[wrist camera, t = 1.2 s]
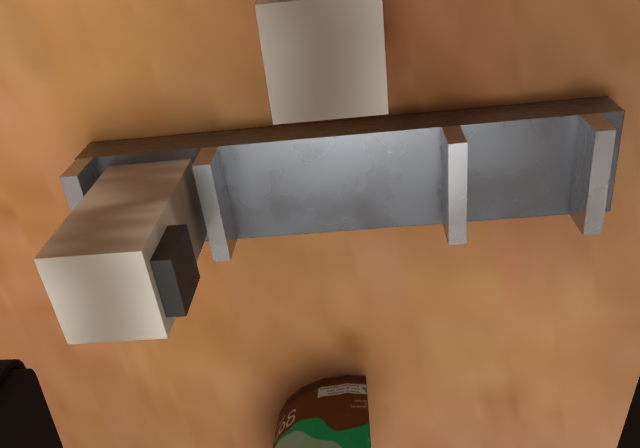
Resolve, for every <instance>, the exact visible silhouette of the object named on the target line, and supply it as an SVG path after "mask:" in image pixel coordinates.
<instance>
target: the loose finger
mask: <svg viewBox="0 0 640 448" xmlns="http://www.w3.org/2000/svg"><path fill="white" fill-rule="evenodd" d="M255 10H256V17H257V23H258V30H259V36H260V43H261V49H262V56H263V62H264V69H265V75H266V82H267V88H268V95H269V101H270V108H271V114H272V121H273V125H276V124H287V123H298V122H309V121H320V120H331V119H342V118H353V117H364V116H375V115H386V114H389V113H388V95H387V76H386V58H385V40H384V21H383V3H382V0H258V1H257V2H256V4H255Z"/></svg>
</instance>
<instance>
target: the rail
mask: <svg viewBox="0 0 640 448" xmlns="http://www.w3.org/2000/svg"><path fill="white" fill-rule="evenodd" d="M624 112H625V111H624V110H623V109H622V108H621V107H620V106H618V105H617V104H616V103H615V102H614V101H613V100H611V99H610V98H609V97H608V96H605V97H594V98H583V99H572V100H561V101H550V102H539V103H528V104H516V105H505V106H494V107H483V108H472V109H461V110H450V111H439V112H427V113H416V114H405V115H394V116H383V117H372V118H361V119H350V120H338V121H327V122H316V123H305V124H294V125H283V126H272V127H261V128H249V129H238V130H227V131H216V132H205V133H194V134H183V135H172V136H160V137H149V138H138V139H127V140H116V141H105V142H94V143H89V144H88V145H87V146H86V148H85V149H84V150H83V151H82V152H81V153H80V154H79V155H78V156H77V157H76V158H75V161H74V162H73V163H72V164H71V166H70V167H69V168H68V169H67V170H66V171H65V172H64V173H63V174H62V175H61V176H60V177H59V178H60V180H61V183H62V186H63V189H64V192H65V195H66V198H67V200H68V203H69V206H70V209H71V212H72V211H73V209H74V208H75V207H76V206H77V204H78V203H79V202H80V201H81V199H82V198H83V197H84V196H85V195H86V193H87V192H88V191H89V190H90V188H91V187H92V186H93V185H94V183H95V182H96V181H97V180H98V178H99V177H100V176H101V175H102V173H103V172H104V171H105V170H106V168H107V167H108V166H116V165H128V164H139V163H151V162H162V161H174V160H186V159H191V162H192V169H193V173H194V177H195V182H196V186H197V190H198V195H199V199H200V203H201V208H202V212H203V216H204V221H205V225H206V229H207V236H206V238H205V241H209V242H210V247H211V251H212V255H213V259H214V262H222V261H231V258H232V255H233V251H234V248H235V244H236V241H237V239H242V238H255V237H269V236H282V235H296V234H309V233H322V232H336V231H349V230H363V229H376V228H389V227H403V226H416V225H430V224H443V227H444V230H445V234H446V237H447V241H448V245H459V244H466V231H467V222H470V221H483V220H497V219H510V218H523V217H537V216H550V215H564V214H569V215H570V216H571V218H572V219H573V221H574V222H575V224H576V225H577V227H578V228H579V230H580V231H581V233H582V234H583V236H585V235H599V234H602V228H603V220H604V213H605V211H610V208H611V201H612V195H613V188H614V181H615V174H616V167H617V160H618V153H619V146H620V140H621V133H622V126H623V119H624Z"/></svg>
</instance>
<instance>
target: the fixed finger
mask: <svg viewBox="0 0 640 448" xmlns="http://www.w3.org/2000/svg"><path fill="white" fill-rule="evenodd" d="M206 236H207V229H206V225H205V221H204V216H203V212H202V208H201V203H200V199H199V195H198V190H197V186H196V182H195V177H194V173H193V169H192V162H191V159H186V160H174V161H162V162H151V163H139V164H128V165H116V166H108V167H107V168H106V170H105V171H104V172H103V173H102V175H101V176H100V177H99V178H98V180H97V181H96V182H95V183H94V185H93V186H92V187H91V188H90V190H89V191H88V192H87V193H86V195H85V196H84V197H83V198H82V199H81V201H80V202H79V203H78V204H77V206H76V207H75V208H74V209H73V211H72V212H71V213H70V214H69V216H68V217H67V218H66V219H65V221H64V222H63V223H62V224H61V226H60V227H59V228H58V229H57V231H56V232H55V233H54V234H53V236H52V237H51V238H50V239H49V241H48V242H47V243H46V244H45V246H44V247H43V248H42V249H41V250H40V252H39V253H38V254H37V255H36V257H35V258H34V261H35V264H36V266H37V269H38V271H39V274H40V276H41V279H42V281H43V284H44V286H45V289H46V291H47V293H48V296H49V298H50V301H51V303H52V306H53V308H54V311H55V313H56V316H57V318H58V321H59V323H60V326H61V328H62V330H63V333H64V335H65V338H66V340H67V343H68V344H83V343H99V342H116V341H132V340H148V339H165V338H168V336H169V333H170V331H171V328H172V325H173V323H174V320H175V317H181V316H186V315H187V313H188V310H189V307H190V304H191V301H192V299H193V296H194V293H195V290H196V287H197V285H198V282H199V279H200V275H199V271H198V267H197V263H196V262H197V260H198V257H199V254H200V252H201V249H202V246H203V244H204V241H205V238H206Z"/></svg>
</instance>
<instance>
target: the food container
mask: <svg viewBox="0 0 640 448" xmlns="http://www.w3.org/2000/svg"><path fill="white" fill-rule="evenodd" d="M272 448H371V439H370V425H369V412H368V399H367V385H366V376H352V375H345V376H338V377H332V378H325V379H321V380H319V381H316V382H314V383H312V384H309V385H307V386H304V387H302V388H301V389H300V390H299V391H297V392H296V393H295V394H294V395H293V396H291V397H290V398H289V399H288V400H287V401H286V403H285V405H284V406H283V408H282V410H281V412H280V415H279V419H278V424H277V429H276V433H275V438H274V443H273V447H272Z"/></svg>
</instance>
